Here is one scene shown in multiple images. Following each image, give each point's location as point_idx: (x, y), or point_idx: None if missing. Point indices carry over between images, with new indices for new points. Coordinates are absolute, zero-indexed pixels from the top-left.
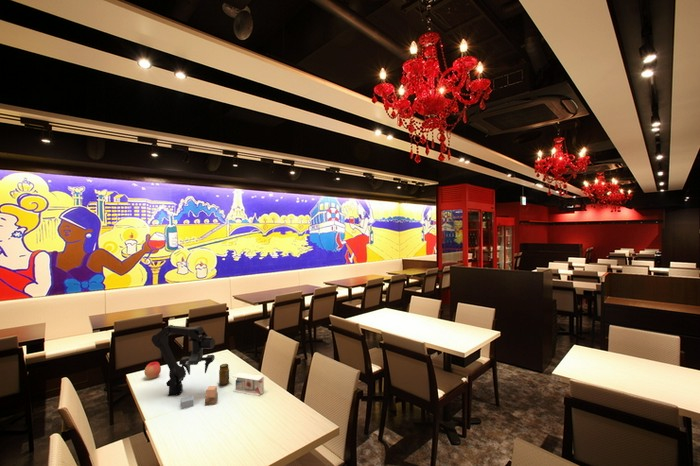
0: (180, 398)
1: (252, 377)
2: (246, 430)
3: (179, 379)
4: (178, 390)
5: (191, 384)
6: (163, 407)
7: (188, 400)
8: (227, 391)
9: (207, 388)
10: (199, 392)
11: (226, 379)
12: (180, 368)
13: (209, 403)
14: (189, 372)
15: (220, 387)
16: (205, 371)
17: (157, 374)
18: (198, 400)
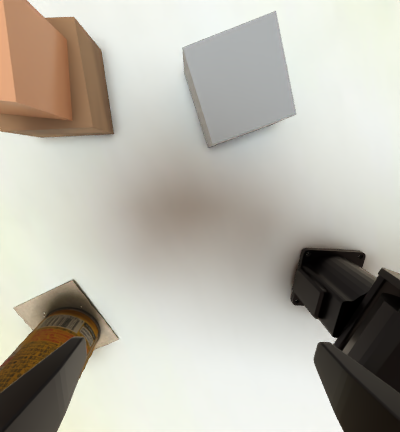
0: (294, 108)
1: None
2: None
3: (390, 309)
4: (320, 272)
5: (256, 352)
6: (371, 115)
7: (220, 36)
8: (10, 227)
9: (4, 31)
10: (191, 255)
11: (26, 339)
12: None
13: None
14: (340, 377)
15: (74, 284)
16: (47, 362)
17: None
18: (170, 150)
